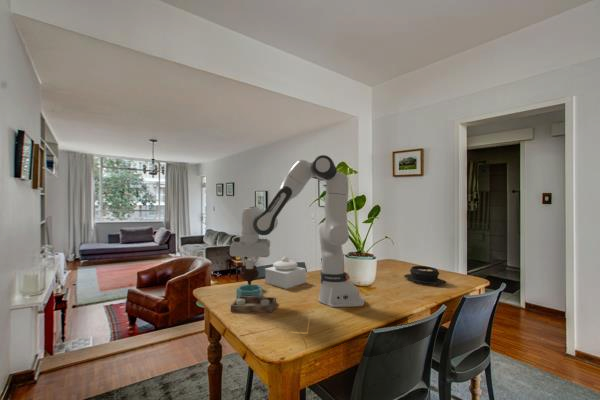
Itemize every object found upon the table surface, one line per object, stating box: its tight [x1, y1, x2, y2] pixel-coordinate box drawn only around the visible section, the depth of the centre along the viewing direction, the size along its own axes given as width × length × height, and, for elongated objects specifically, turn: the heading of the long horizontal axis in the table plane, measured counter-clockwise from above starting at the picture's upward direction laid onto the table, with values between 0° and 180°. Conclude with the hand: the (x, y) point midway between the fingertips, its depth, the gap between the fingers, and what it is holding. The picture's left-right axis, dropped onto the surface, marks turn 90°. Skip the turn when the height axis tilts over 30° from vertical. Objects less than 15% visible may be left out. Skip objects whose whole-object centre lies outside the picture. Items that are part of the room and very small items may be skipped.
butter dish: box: [264, 256, 307, 290], centre depth 173 cm, size 18×18×16 cm
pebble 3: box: [261, 299, 269, 306], centre depth 128 cm, size 4×4×4 cm
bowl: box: [236, 283, 263, 299], centre depth 146 cm, size 12×12×5 cm
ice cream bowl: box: [239, 264, 260, 285], centre depth 161 cm, size 11×11×15 cm
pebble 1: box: [236, 298, 245, 305], centre depth 129 cm, size 4×4×4 cm
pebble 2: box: [245, 259, 254, 269], centre depth 146 cm, size 4×4×4 cm
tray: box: [230, 296, 277, 314], centre depth 131 cm, size 18×13×3 cm
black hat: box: [403, 265, 447, 285], centre depth 178 cm, size 25×19×8 cm
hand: (249, 265), depth 146 cm, fingers closed on pebble 2, 4 cm apart
